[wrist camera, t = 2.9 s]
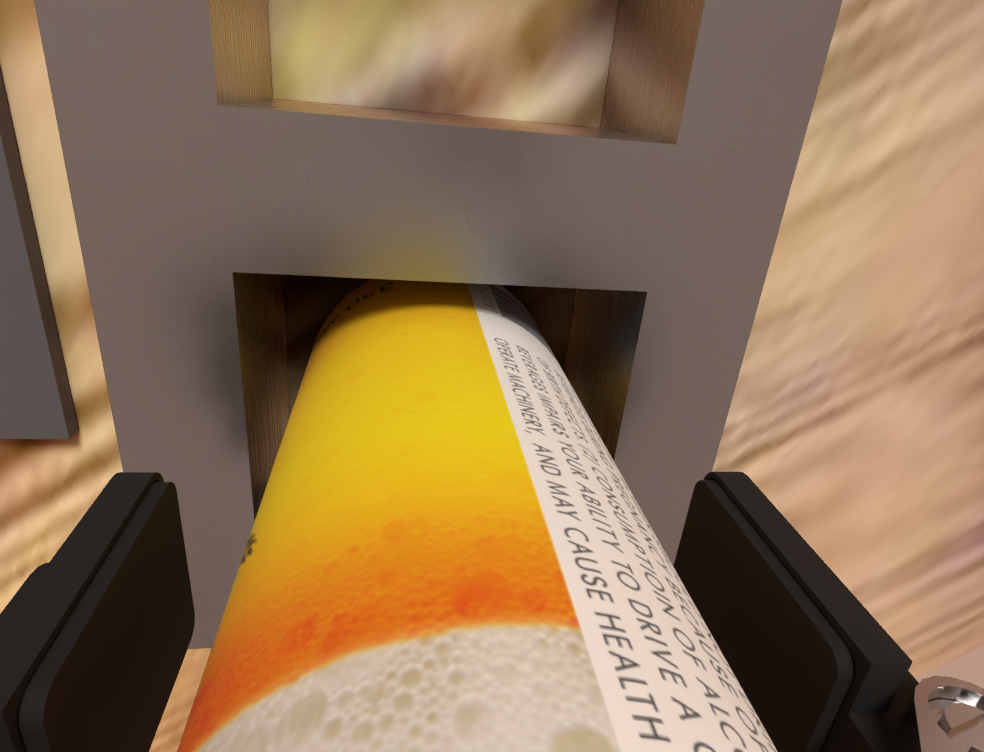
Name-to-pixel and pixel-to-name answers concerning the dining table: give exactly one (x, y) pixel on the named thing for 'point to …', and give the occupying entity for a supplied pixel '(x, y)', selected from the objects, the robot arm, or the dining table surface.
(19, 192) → the mat
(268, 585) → the beer can
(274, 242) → the cinder block
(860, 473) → the dining table surface
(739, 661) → the robot arm
